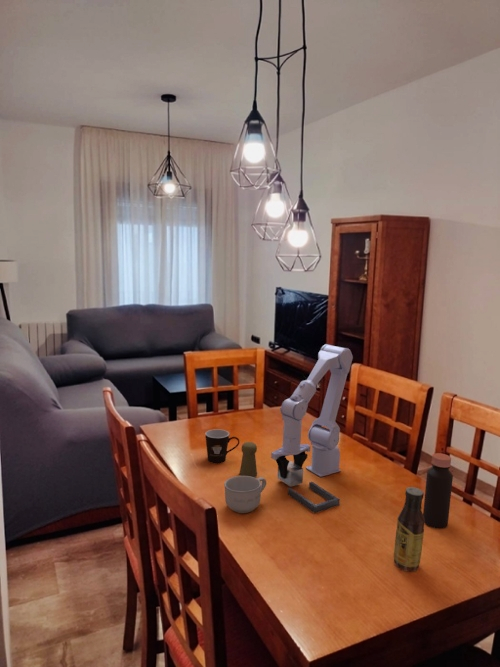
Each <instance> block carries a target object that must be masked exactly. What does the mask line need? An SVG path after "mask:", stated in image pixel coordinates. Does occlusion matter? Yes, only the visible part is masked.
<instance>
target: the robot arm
mask: <svg viewBox="0 0 500 667" xmlns="http://www.w3.org/2000/svg"><path fill="white" fill-rule="evenodd" d="M317 359H318V360H317V361H316V363H315V365H314V367H313V368H312V370H311V372H310V373H309V376H308V377H307V379H305V380H301V381H300V383H299V384H298V386H297V387H296V388H295V389H294V391H293V393H292V395H291V396H289V398H287V399H284V401H282V403H281V406H280V408H279V410H280V414H281V416H282V417H281V418H282V420H283V426H282V427H283V432H282V446H281V447H280V448H278V449H276V450H274V451H271V453H270V455H271V456H270V458H271V459H273V460H274V461H276V464H277V468H278V467H279V471H280V476H281V477H282V478H283V479H286V475H287V467H288V463H289V461H290V460H288V459H287V457H288V456H292V457H293V463H295V464H297V465H298V466H300V467H301V468H303V465H304V463H305V462H306V460H307V459H308V454H307V453H306V452H308V453H310V452H311V463H310V464H311V465H307V466H306V467H305V468H306V470H308V471H310V472H311V473H313V474H315V475H316V476H318V477H320V478H322V477H325V476H328V475H332V474H335V473H339V472H341V469H340V460H341V459H340V457H341V452H340V448H339V447H338V445H339V443H340V431H341V428H340V426H339V425H338V423H337V422H336V420H337V415H338V412H339V407H340V404H341V399H342V395H343V394H344V393H343V391H344V388H345V384H346V380H347V378H348V377H347V376H348V374H349V373H350V370H351V366H352V363H353V362H352V361H353V359H354V356H353V354H352V351H351V349H349V347H341V346H335V345H331V344H329V343H328V344H327V343H325V344H324V345H322V346H321V347H320V350H319V352H318V354H317ZM327 372H330V374H331V375H330V377H329V382H328V386H327V390H326V393H325V397H324V400H323V404H322V408H321V412H320V415H319V417H317V418H316V419H314V420H313V421H312V424H311V426H310V428H309V429H308V432H307V439H308V441H309V442H310V445H309V444H307V443H304V444H301V441H302V440H301V439H302V424H303V423H302V422H303V421H302V420H303V418H304V417H305V416H306V413H307V411H308V410H307V409H308V406H309V403H310V401H311V399H312V398H313V397H314V395H315V394H316V392H317V387H316V386H317V385H318V383H320V382H321V380H322V379H323V377H324V376H325V375H326V374H327ZM311 446H312V449H311Z"/></svg>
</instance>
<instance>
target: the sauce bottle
mask: <svg viewBox="0 0 500 667" xmlns="http://www.w3.org/2000/svg"><path fill="white" fill-rule="evenodd" d="M404 495H405V501H404V505H403V507H402V509H401V511H400V513H399V515H398V517H397V521H396V532H395V538H394V549H393V563H394V565H395V566H396V567H397V568H398V569H400V571H404V572H409V573H410V572H415V571H418V570H419V568H420V563H421V559H422V558H421V556H422V549H423V542H424V533H425V519H424V515H423V510H422V504H423V503H422V502H423V499H424V496H425V492H424V491H423V490H422V489H421V488H420V487H419V488H417V487H416V486H415V487H414V486H413V487H412V486H408V487H406V489H405V493H404Z"/></svg>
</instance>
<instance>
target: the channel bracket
mask: <svg viewBox="0 0 500 667" xmlns="http://www.w3.org/2000/svg"><path fill="white" fill-rule="evenodd" d="M308 489H309V490H312V491H313V492H315V493H316V494H317V495H319V496H320V497H322V498H324V499H325V500H326V501H323V502H320V503H316V504H315V503H314V502H313V501H311V500H309V499H308V498H306V497H305V496H304V495H303V494H301V493H299V492H297V491H296V490H295V489H293V488H292V487H288V488H287V495H288V496H289V497H291V498H292V499H293V500H295V501H297V502H298V503H299V504H301V505H302V506H304V507H305V508H306V509H308V510H309V511H310V512H312V513H313V514H318V513H320V512H324V511H326V510H328V509H332V508H335V507H337V506H340V500H341V499H340V498H338V497H337V496H336V495H334V494H332V493H331V492H329V491H327V490H326V489H325V488H322V487H321V486H320V485H318V484H317V483H315V482H313V481H309V485H308Z"/></svg>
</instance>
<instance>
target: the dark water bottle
mask: <svg viewBox="0 0 500 667" xmlns="http://www.w3.org/2000/svg"><path fill="white" fill-rule="evenodd" d="M451 463H452V457H451V456H450V455H448V454H445V453H440V452H439V453H438V452H437V453H433V454H432V456H431V465H432V467H430V468H429V469H427V472H426V481H425V492H424V498H423V499H424V500H423V510H422V513H423V515H424V519H425V523H424V525H426V526H428V527H430V528H431V529H437V530H442V529H443V530H444V529H446V528H447V527H448V525H449V516H450V510H451V509H450V508H451V507H450V506H451V498H452V488H453V479H454V475H453V474H452V472H451V471H450V468H451Z"/></svg>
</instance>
